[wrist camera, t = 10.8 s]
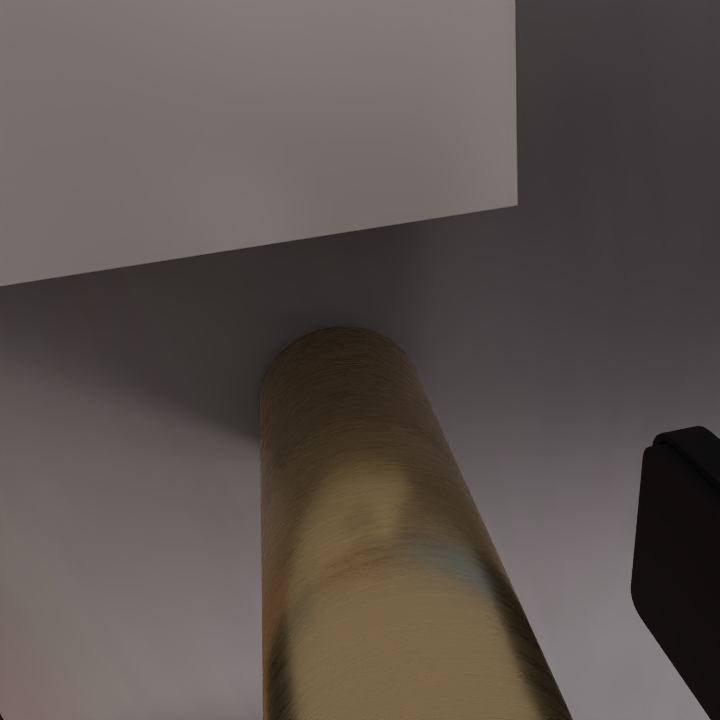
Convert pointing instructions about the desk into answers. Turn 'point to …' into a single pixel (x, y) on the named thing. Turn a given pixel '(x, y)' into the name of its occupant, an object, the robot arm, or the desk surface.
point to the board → (244, 124)
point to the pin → (380, 553)
